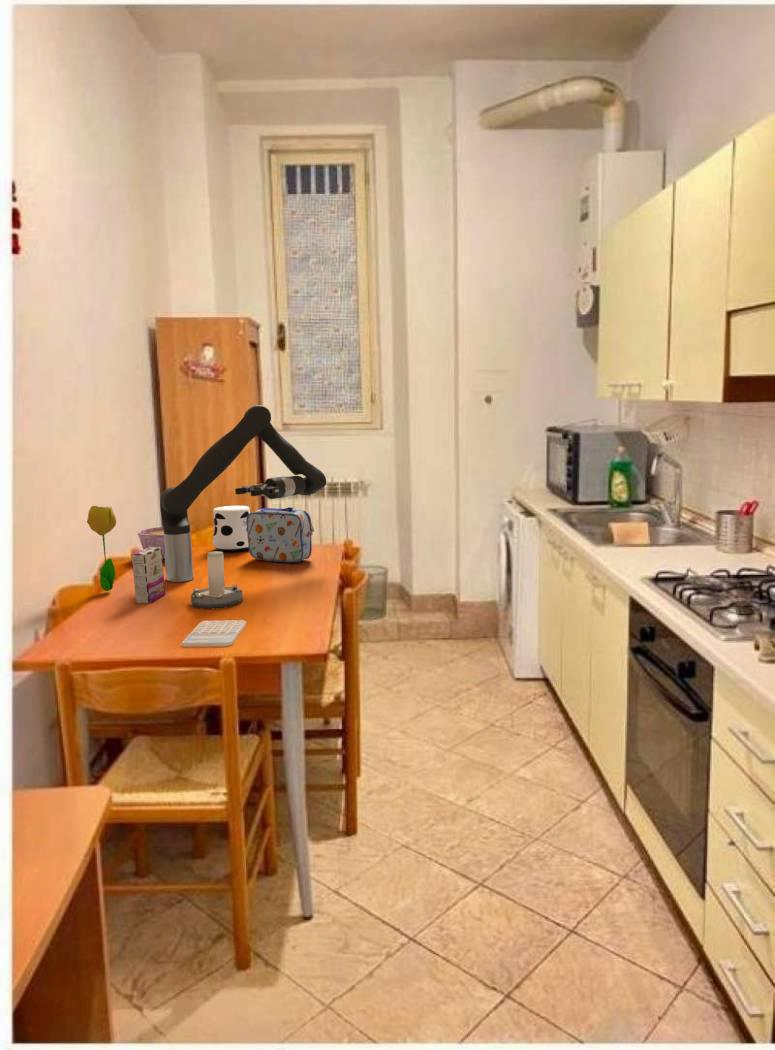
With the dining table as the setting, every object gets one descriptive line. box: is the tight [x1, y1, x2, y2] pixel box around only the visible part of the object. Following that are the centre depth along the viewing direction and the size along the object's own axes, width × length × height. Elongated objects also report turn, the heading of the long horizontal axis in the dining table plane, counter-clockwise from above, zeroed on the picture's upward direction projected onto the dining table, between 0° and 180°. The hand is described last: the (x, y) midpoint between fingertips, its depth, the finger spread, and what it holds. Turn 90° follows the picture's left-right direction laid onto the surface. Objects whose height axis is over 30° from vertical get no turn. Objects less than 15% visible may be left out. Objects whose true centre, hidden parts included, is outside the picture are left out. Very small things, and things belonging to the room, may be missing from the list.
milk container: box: [212, 505, 251, 552], centre depth 328 cm, size 17×17×18 cm
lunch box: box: [246, 506, 315, 564], centre depth 302 cm, size 28×10×22 cm, turn 67°
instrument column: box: [206, 550, 226, 594], centre depth 242 cm, size 5×5×13 cm
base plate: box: [190, 584, 243, 610], centre depth 243 cm, size 16×16×4 cm
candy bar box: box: [130, 547, 166, 605], centre depth 248 cm, size 11×5×16 cm, turn 168°
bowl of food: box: [137, 526, 165, 559], centre depth 313 cm, size 20×20×12 cm
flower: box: [86, 505, 117, 592], centre depth 257 cm, size 9×8×30 cm
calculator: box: [181, 619, 247, 648], centre depth 210 cm, size 13×20×2 cm, turn 178°
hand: (243, 492), depth 264 cm, fingers open, 8 cm apart
